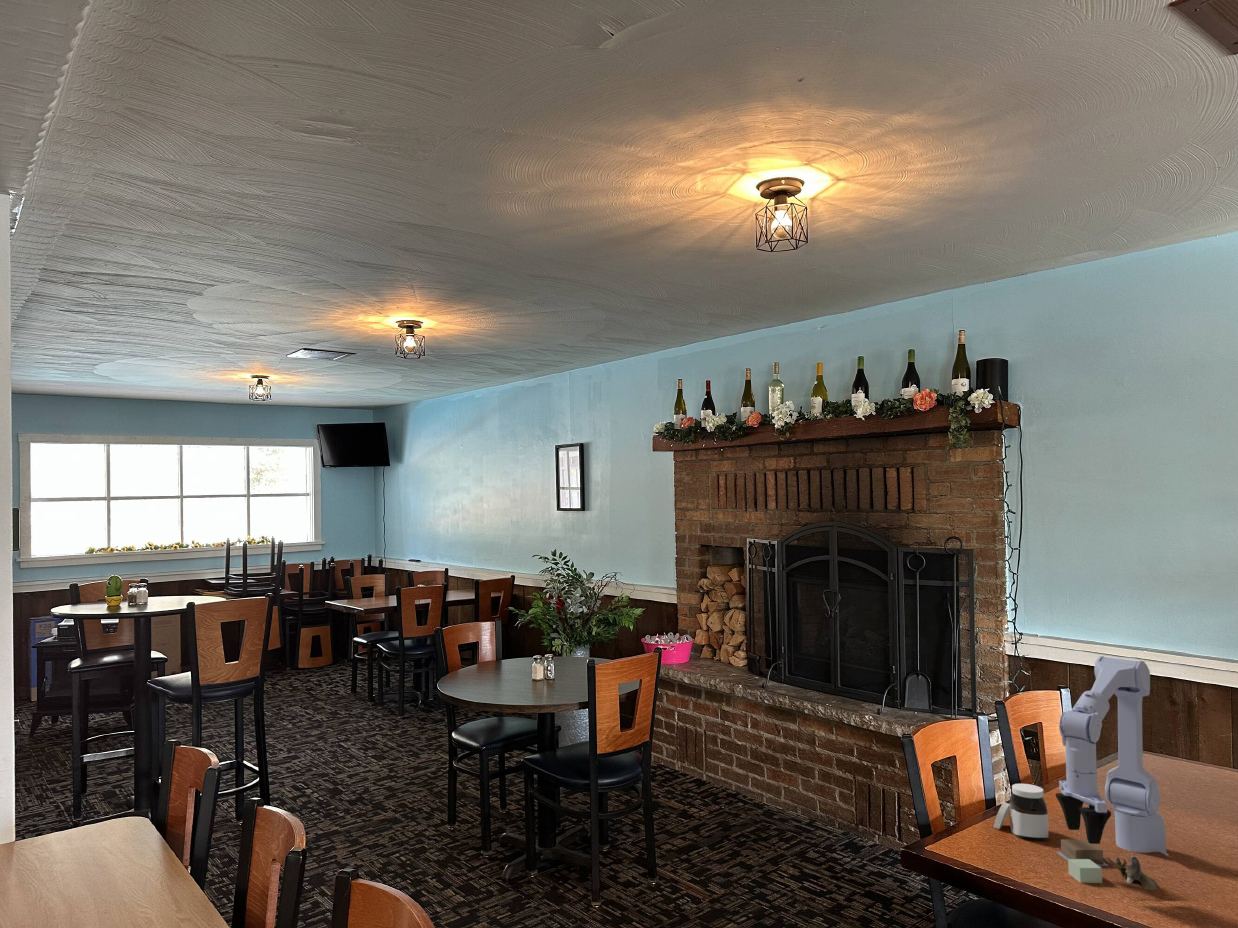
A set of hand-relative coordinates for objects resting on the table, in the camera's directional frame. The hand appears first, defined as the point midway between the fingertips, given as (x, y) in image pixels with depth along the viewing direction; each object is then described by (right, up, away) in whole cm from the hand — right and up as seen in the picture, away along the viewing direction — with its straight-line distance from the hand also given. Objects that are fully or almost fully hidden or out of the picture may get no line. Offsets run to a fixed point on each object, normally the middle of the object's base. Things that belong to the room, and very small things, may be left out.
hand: (1083, 835), depth 173 cm
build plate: (+5, -10, +11) cm, 16 cm away
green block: (0, -10, -1) cm, 10 cm away
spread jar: (-1, -12, +25) cm, 28 cm away
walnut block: (+5, -9, +9) cm, 14 cm away
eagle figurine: (+9, -10, -3) cm, 14 cm away
